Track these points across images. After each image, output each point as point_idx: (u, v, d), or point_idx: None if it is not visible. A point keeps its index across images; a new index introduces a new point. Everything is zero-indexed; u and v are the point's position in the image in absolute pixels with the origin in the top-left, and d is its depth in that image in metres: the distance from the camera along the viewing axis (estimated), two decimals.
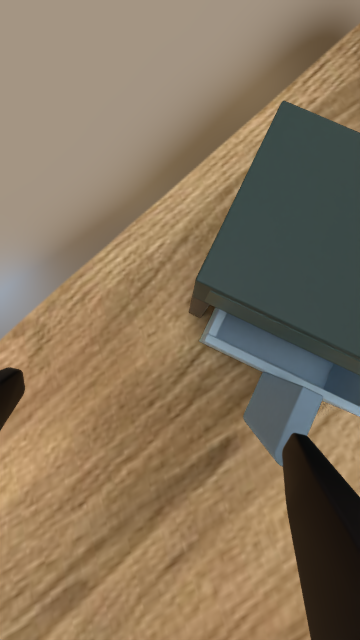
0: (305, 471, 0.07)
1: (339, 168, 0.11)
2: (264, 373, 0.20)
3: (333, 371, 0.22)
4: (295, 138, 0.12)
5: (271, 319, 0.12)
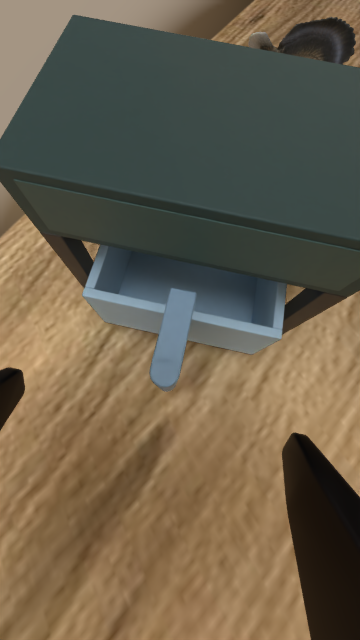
0: (305, 471, 0.07)
1: (137, 54, 0.11)
2: None
3: (253, 318, 0.20)
4: (88, 38, 0.12)
5: (92, 197, 0.10)
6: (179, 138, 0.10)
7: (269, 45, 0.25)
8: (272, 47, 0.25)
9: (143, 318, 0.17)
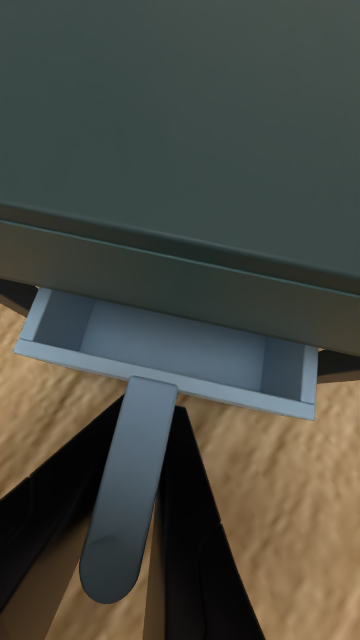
0: None
1: None
2: None
3: (265, 363, 0.15)
4: None
5: None
6: (138, 90, 0.05)
7: None
8: None
9: (111, 376, 0.12)
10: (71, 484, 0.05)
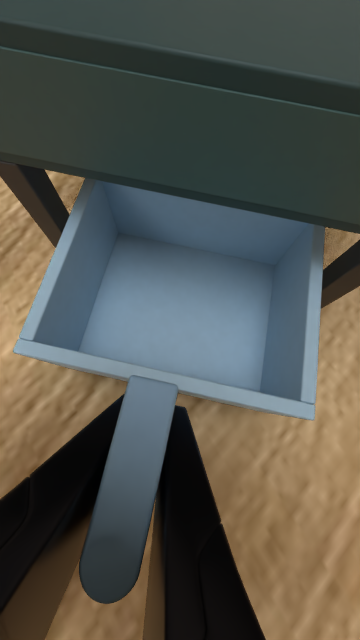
0: None
1: None
2: None
3: (265, 363, 0.15)
4: None
5: (43, 61, 0.06)
6: None
7: None
8: None
9: (111, 376, 0.12)
10: (71, 484, 0.05)
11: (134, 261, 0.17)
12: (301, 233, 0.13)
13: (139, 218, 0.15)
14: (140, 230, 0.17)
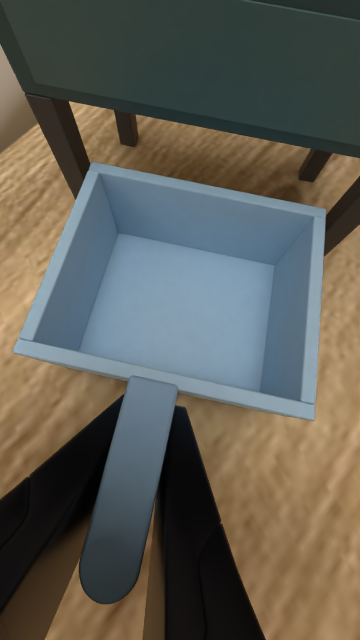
0: None
1: None
2: None
3: (265, 363, 0.15)
4: None
5: None
6: None
7: None
8: None
9: (111, 376, 0.12)
10: (71, 484, 0.05)
11: (134, 261, 0.17)
12: (301, 233, 0.13)
13: (139, 218, 0.15)
14: (140, 230, 0.16)
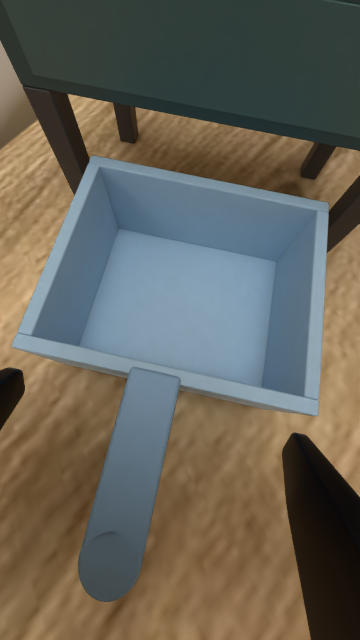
0: (305, 471, 0.07)
1: None
2: None
3: (267, 360, 0.14)
4: None
5: None
6: None
7: None
8: None
9: (111, 372, 0.12)
10: None
11: (135, 257, 0.17)
12: (304, 228, 0.13)
13: (139, 213, 0.15)
14: (140, 225, 0.16)
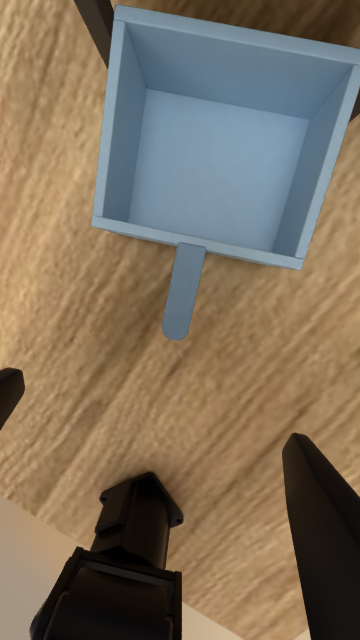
0: (305, 471, 0.07)
1: None
2: None
3: (280, 227, 0.18)
4: None
5: None
6: None
7: None
8: None
9: (158, 241, 0.16)
10: None
11: (165, 126, 0.17)
12: (339, 84, 0.13)
13: (168, 71, 0.15)
14: (169, 85, 0.16)
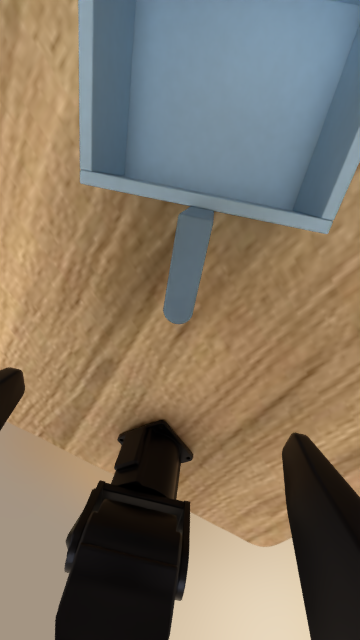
0: (305, 471, 0.07)
1: None
2: None
3: (308, 172, 0.15)
4: None
5: None
6: None
7: None
8: None
9: None
10: None
11: (166, 29, 0.13)
12: None
13: None
14: None
